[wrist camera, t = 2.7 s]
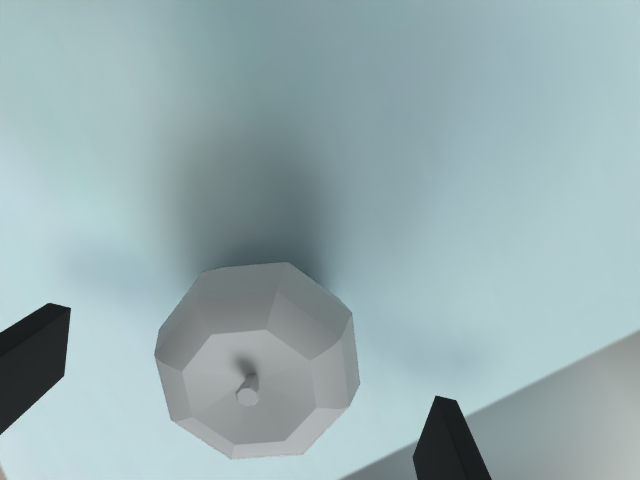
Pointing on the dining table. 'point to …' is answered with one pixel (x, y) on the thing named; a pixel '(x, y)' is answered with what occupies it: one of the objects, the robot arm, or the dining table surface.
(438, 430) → the robot arm
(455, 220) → the dining table surface
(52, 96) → the dining table surface
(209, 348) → the apple
